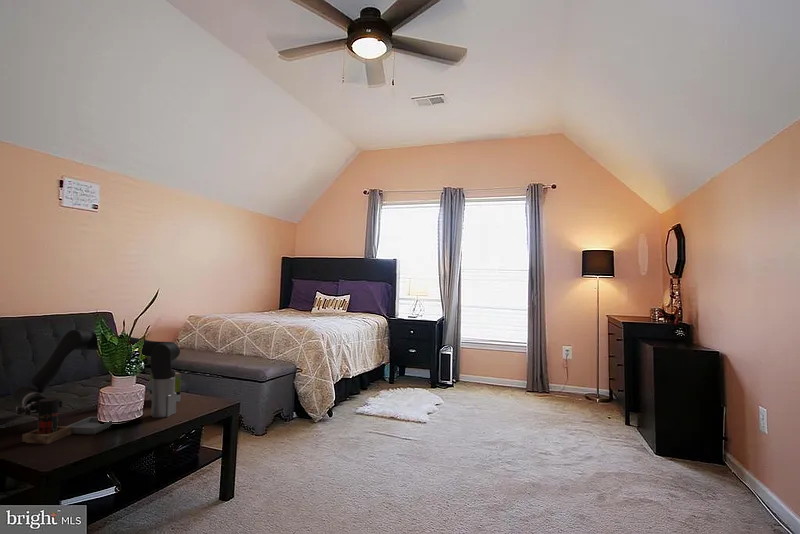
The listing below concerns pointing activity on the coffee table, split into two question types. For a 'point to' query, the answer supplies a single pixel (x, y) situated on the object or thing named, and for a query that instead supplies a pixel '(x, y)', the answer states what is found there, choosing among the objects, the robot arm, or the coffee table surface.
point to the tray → (89, 426)
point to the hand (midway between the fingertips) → (43, 409)
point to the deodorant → (48, 415)
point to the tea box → (177, 385)
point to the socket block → (46, 435)
